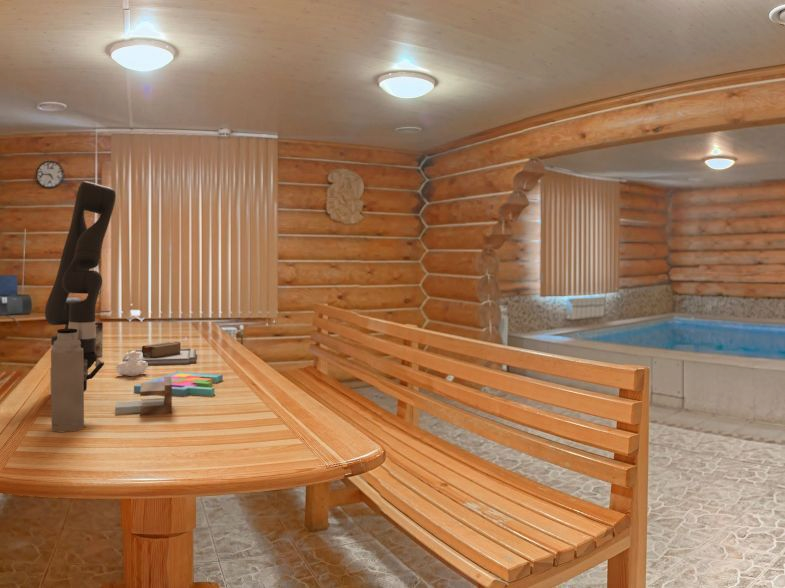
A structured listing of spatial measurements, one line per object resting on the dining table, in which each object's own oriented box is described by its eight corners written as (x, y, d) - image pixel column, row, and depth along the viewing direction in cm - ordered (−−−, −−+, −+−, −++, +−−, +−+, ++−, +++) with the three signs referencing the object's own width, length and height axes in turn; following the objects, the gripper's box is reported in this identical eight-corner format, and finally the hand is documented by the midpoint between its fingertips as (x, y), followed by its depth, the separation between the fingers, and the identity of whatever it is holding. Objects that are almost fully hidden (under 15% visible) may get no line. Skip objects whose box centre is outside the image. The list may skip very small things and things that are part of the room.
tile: (115, 415, 185) (115, 407, 185) (116, 410, 192) (116, 402, 191) (164, 412, 190) (164, 404, 190) (163, 407, 197) (163, 399, 196)
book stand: (130, 356, 290) (130, 340, 289) (195, 354, 299) (195, 339, 298) (122, 367, 261) (122, 350, 261) (195, 365, 270) (195, 348, 270)
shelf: (140, 415, 184) (140, 386, 183) (141, 405, 196) (141, 377, 195) (171, 413, 187) (171, 384, 187) (170, 403, 199) (170, 376, 199)
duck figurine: (116, 382, 239) (119, 362, 233) (113, 368, 244) (116, 348, 237) (148, 379, 246) (152, 360, 240) (144, 365, 250) (148, 346, 244)
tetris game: (133, 393, 214) (206, 399, 208) (133, 385, 214) (206, 391, 208) (177, 378, 241) (242, 383, 236) (177, 371, 241) (242, 375, 236)
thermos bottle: (46, 428, 169) (45, 328, 167) (76, 422, 175) (75, 326, 173) (58, 434, 164) (57, 331, 162) (89, 428, 170) (88, 329, 168)
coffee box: (81, 357, 278) (81, 323, 277) (78, 355, 283) (78, 321, 282) (103, 356, 284) (102, 322, 283) (99, 354, 289) (99, 320, 288)
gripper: (54, 338, 177) (54, 396, 178) (104, 338, 181) (103, 394, 182) (59, 334, 184) (59, 390, 185) (107, 334, 188) (106, 389, 189)
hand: (81, 392), depth 184 cm, fingers closed
